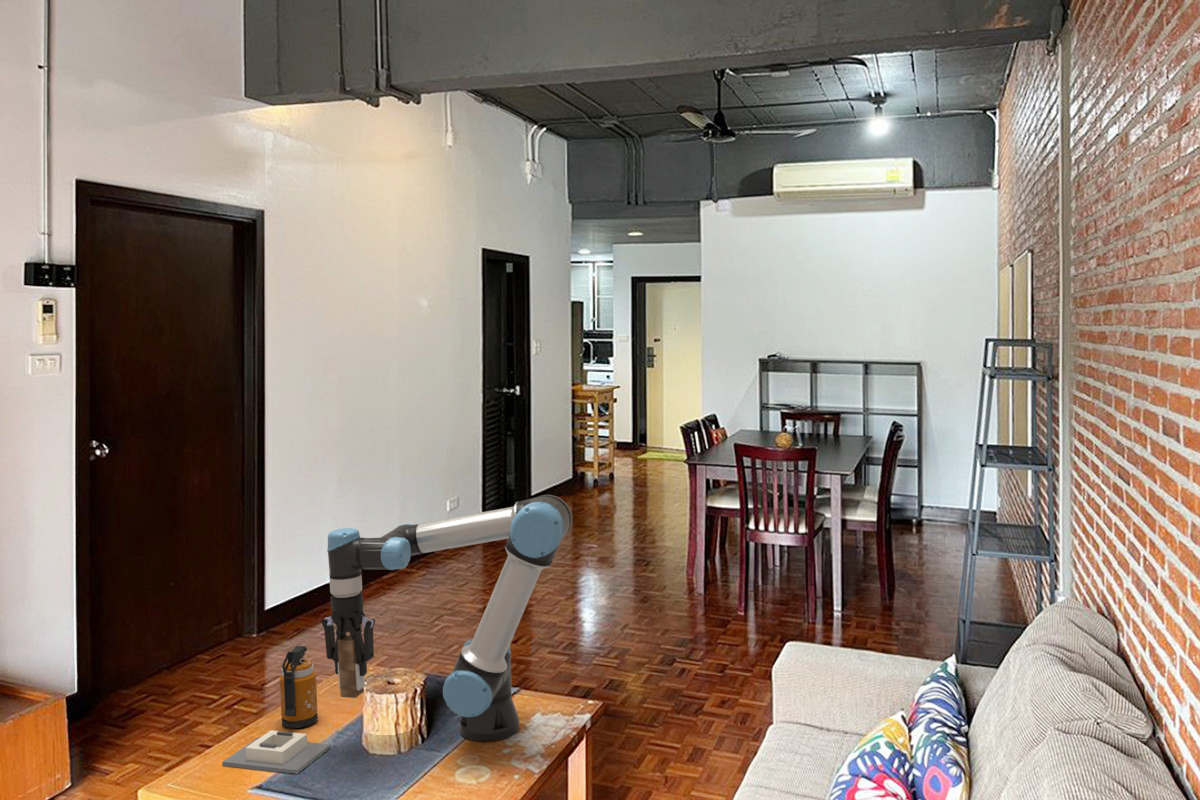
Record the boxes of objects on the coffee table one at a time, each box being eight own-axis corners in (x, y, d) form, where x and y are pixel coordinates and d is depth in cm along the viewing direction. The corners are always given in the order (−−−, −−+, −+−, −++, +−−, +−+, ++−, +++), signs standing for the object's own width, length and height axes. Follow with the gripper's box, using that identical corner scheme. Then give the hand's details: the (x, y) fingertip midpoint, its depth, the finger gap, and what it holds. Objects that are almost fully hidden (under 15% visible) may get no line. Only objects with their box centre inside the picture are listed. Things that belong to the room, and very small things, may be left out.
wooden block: (363, 691, 230) (360, 635, 229) (355, 697, 226) (352, 641, 225) (349, 690, 231) (346, 635, 230) (340, 696, 227) (337, 640, 226)
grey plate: (330, 748, 229) (329, 730, 229) (297, 774, 216) (296, 755, 215) (259, 740, 234) (258, 722, 234) (222, 765, 221) (221, 746, 220)
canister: (323, 716, 249) (320, 642, 247) (306, 733, 238) (302, 656, 237) (290, 715, 250) (287, 642, 248) (272, 733, 239) (268, 656, 237)
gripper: (385, 590, 228) (391, 684, 230) (323, 587, 233) (329, 680, 234) (370, 598, 221) (376, 695, 223) (306, 596, 226) (312, 691, 227)
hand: (352, 687), depth 229 cm, fingers closed on wooden block, 4 cm apart
